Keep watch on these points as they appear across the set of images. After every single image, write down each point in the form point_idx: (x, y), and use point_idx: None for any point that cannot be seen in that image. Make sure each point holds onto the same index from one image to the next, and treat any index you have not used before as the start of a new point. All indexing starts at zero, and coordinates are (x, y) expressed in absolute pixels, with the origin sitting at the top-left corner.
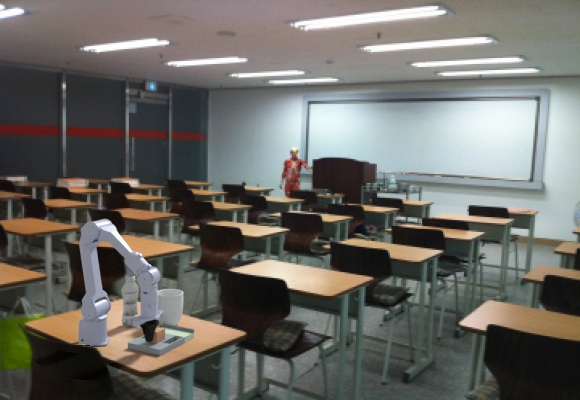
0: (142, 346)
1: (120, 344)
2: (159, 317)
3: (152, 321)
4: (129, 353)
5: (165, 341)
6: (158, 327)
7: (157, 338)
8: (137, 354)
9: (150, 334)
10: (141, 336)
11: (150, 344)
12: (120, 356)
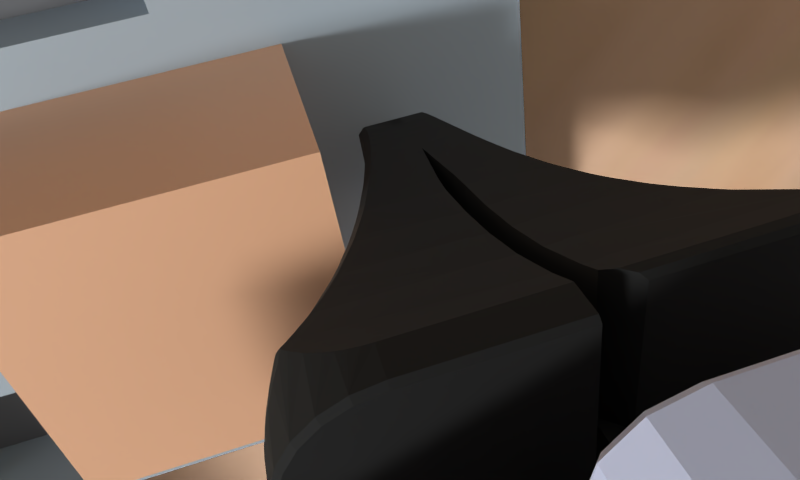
0: (522, 132)
1: None
2: (792, 455)
3: (563, 475)
4: (617, 166)
5: (37, 37)
6: (49, 421)
7: (283, 84)
8: (600, 61)
9: (524, 156)
10: (260, 442)
11: (397, 98)
12: (734, 159)
